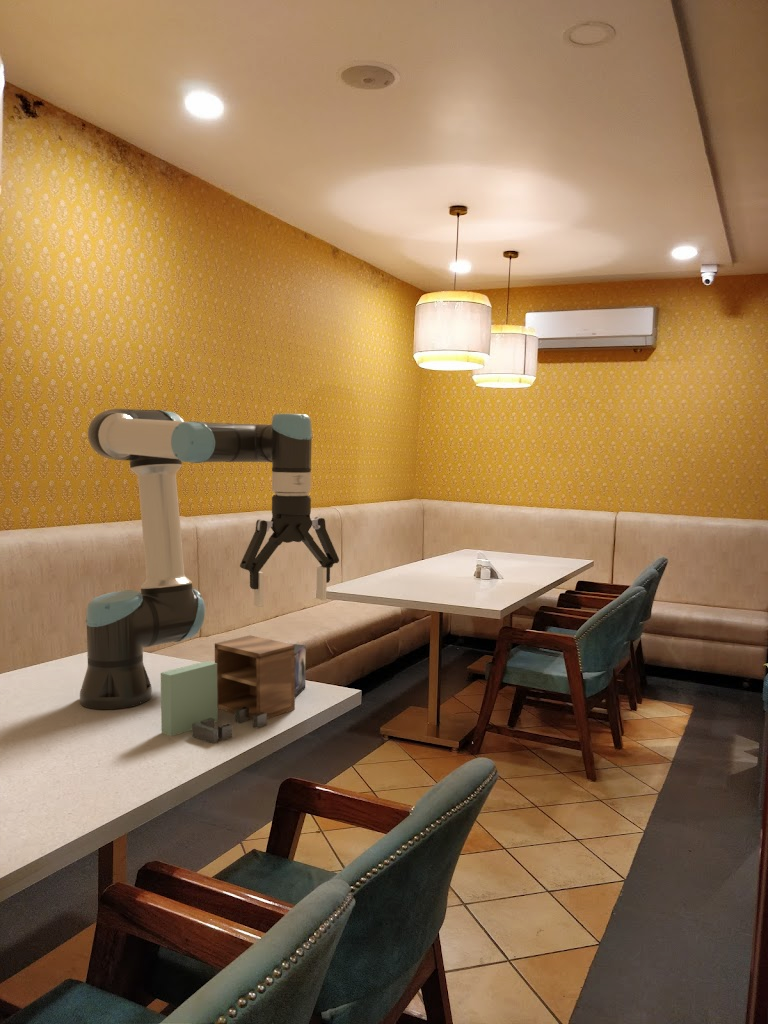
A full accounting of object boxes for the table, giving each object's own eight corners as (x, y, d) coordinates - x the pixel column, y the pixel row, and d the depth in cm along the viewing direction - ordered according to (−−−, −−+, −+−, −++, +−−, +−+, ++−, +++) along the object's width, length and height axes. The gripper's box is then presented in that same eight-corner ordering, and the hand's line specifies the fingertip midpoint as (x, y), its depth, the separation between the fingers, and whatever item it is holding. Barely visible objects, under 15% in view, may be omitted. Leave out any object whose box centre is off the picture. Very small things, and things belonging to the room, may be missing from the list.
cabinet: (215, 707, 174) (214, 643, 173) (250, 696, 182) (249, 635, 181) (260, 721, 166) (259, 653, 165) (294, 709, 173) (294, 644, 172)
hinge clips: (192, 736, 157) (192, 723, 157) (245, 718, 167) (245, 706, 167) (213, 743, 153) (213, 730, 153) (266, 725, 163) (266, 712, 163)
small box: (293, 701, 179) (292, 654, 178) (265, 699, 180) (264, 653, 180) (307, 688, 189) (307, 643, 189) (280, 686, 191) (280, 642, 190)
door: (161, 732, 159) (160, 672, 158) (208, 718, 168) (207, 660, 167) (171, 736, 157) (170, 675, 156) (217, 721, 166) (216, 663, 165)
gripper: (238, 496, 147) (238, 612, 149) (356, 493, 161) (355, 599, 162) (223, 494, 153) (223, 605, 155) (337, 491, 167) (336, 593, 169)
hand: (290, 602), depth 159 cm, fingers open, 13 cm apart
